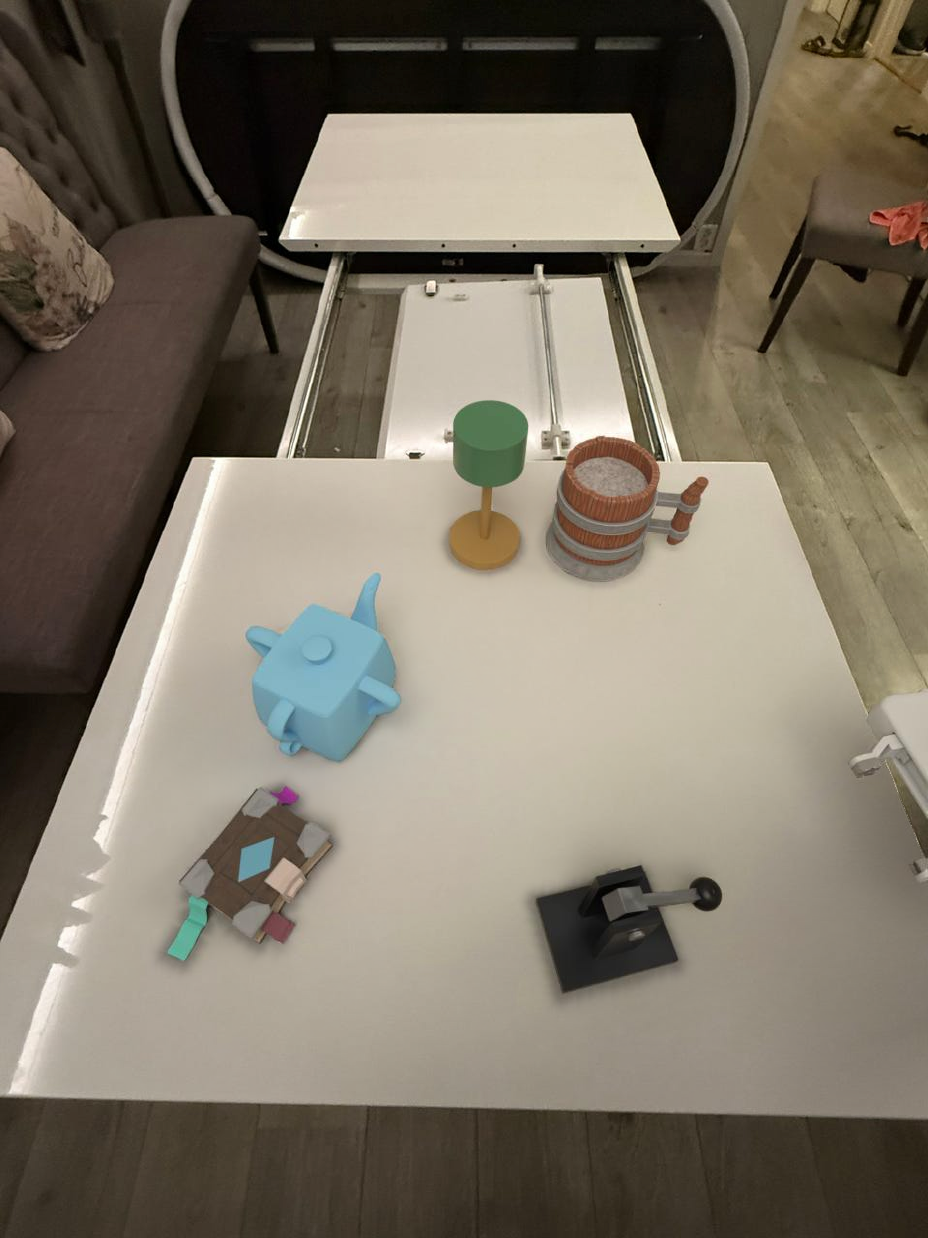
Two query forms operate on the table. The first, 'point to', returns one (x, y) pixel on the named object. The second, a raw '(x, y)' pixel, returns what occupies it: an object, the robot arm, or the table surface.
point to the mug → (613, 508)
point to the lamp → (487, 480)
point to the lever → (661, 899)
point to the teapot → (324, 677)
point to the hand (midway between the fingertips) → (884, 817)
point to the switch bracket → (602, 933)
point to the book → (252, 870)
